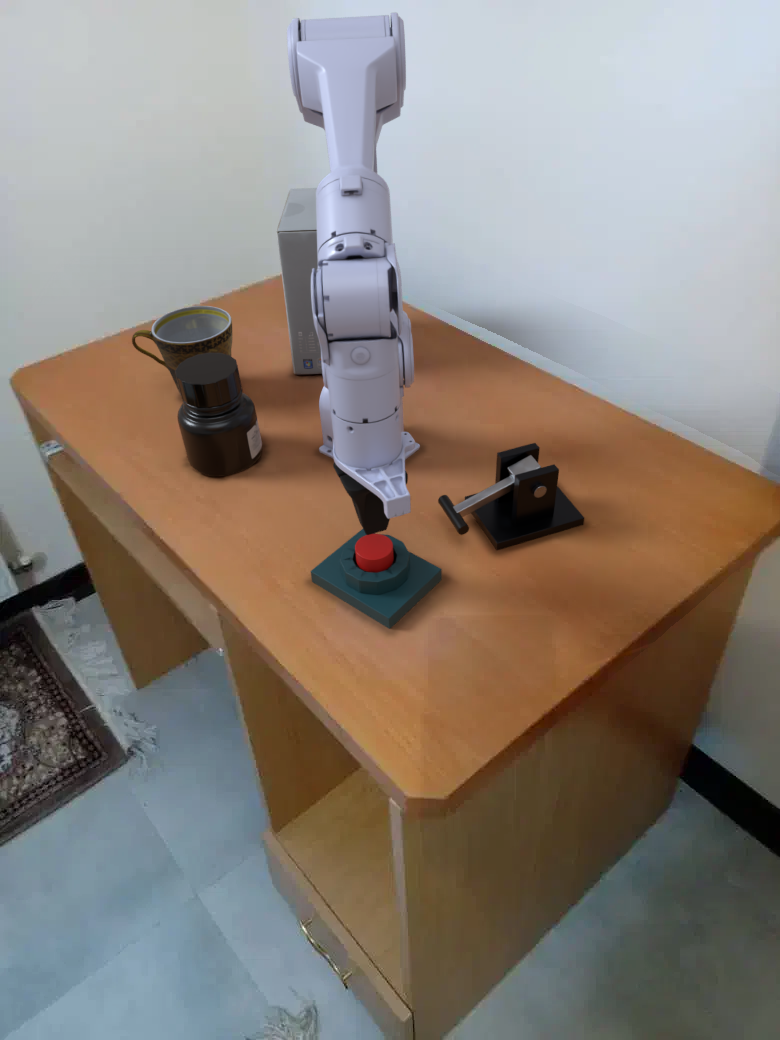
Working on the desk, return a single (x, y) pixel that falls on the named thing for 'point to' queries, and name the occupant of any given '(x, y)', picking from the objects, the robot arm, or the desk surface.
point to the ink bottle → (216, 416)
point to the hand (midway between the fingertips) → (374, 528)
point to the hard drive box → (300, 277)
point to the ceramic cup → (188, 335)
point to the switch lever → (484, 495)
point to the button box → (377, 581)
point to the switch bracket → (526, 503)
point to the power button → (374, 553)
